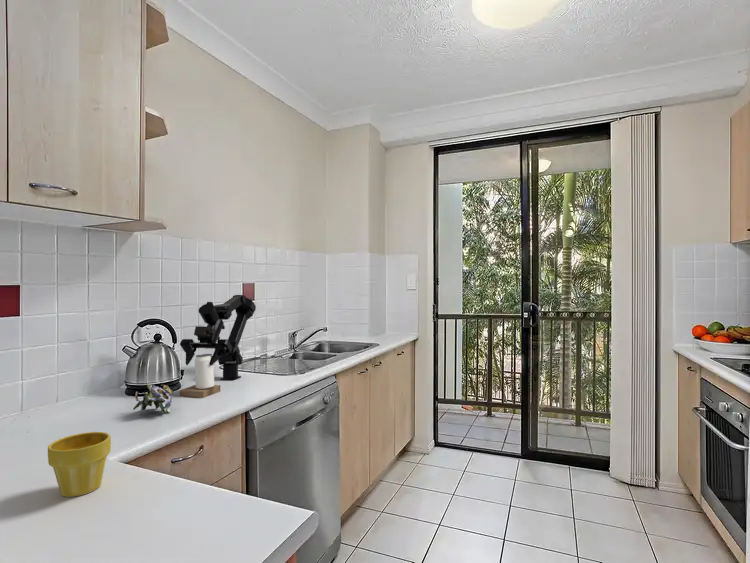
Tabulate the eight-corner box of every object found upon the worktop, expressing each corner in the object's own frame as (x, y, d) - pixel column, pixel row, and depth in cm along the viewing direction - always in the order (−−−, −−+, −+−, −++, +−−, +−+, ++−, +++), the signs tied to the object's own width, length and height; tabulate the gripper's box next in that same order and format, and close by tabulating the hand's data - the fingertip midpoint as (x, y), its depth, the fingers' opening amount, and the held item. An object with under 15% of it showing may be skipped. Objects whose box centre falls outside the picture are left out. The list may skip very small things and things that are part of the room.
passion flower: (167, 430, 136) (174, 404, 131) (128, 429, 131) (134, 402, 126) (169, 402, 145) (176, 377, 140) (133, 400, 140) (139, 374, 135)
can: (202, 390, 156) (200, 356, 156) (192, 388, 159) (190, 355, 160) (218, 386, 161) (216, 354, 161) (207, 384, 165) (206, 353, 165)
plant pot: (40, 507, 79) (40, 453, 79) (56, 483, 88) (55, 435, 88) (106, 495, 83) (106, 445, 83) (114, 474, 92) (114, 428, 93)
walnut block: (197, 391, 166) (197, 384, 166) (220, 393, 164) (220, 385, 164) (179, 398, 157) (179, 390, 157) (203, 400, 154) (203, 391, 154)
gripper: (182, 318, 165) (165, 351, 154) (228, 318, 163) (214, 351, 152) (193, 336, 173) (177, 369, 162) (237, 336, 171) (225, 369, 160)
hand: (198, 364), depth 159 cm, fingers open, 9 cm apart
